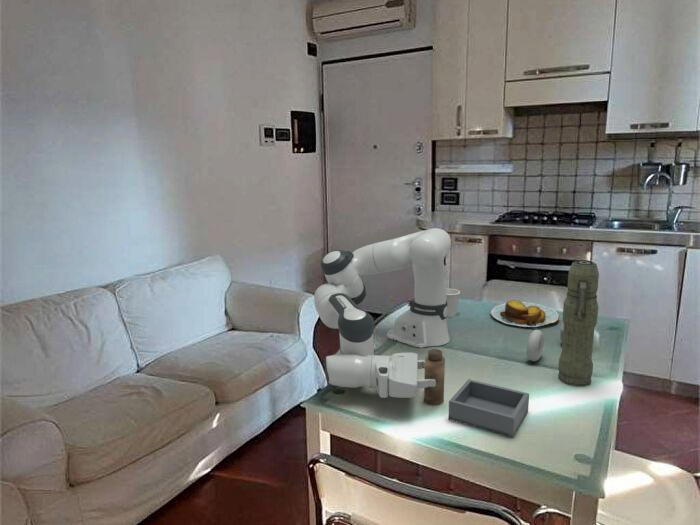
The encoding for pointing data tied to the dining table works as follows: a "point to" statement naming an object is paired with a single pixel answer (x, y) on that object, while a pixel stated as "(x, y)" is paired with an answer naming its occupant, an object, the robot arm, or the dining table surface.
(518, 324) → the food on plate
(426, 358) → the pepper mill
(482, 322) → the dining table surface
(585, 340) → the thermos
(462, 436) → the dining table surface
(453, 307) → the dixie cup
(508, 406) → the bin
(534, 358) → the donut
